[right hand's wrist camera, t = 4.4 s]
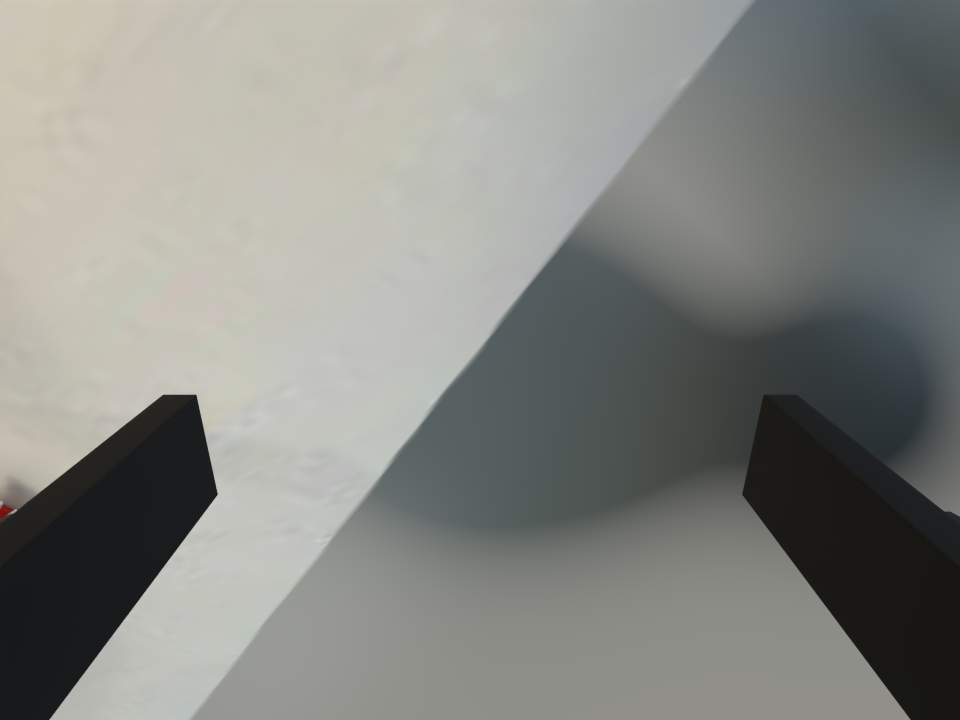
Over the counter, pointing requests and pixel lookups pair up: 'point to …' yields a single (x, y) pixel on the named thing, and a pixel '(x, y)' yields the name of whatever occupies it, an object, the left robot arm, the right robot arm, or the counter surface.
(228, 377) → the counter surface
